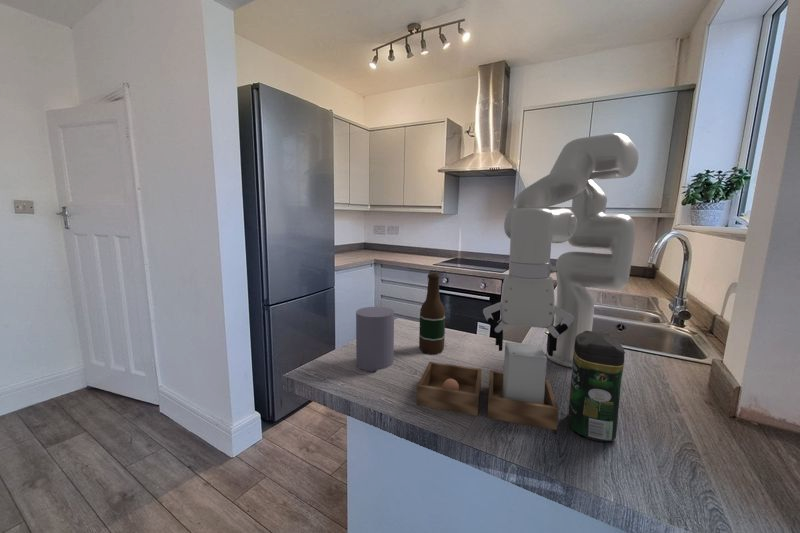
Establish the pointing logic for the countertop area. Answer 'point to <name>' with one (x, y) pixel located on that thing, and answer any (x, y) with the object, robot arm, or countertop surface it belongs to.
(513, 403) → the bin
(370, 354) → the container
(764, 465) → the countertop surface
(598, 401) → the coffee jar
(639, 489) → the countertop surface
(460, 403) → the bin
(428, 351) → the beer bottle
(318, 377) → the countertop surface
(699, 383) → the countertop surface
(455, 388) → the ball
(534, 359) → the supplement box
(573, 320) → the robot arm
